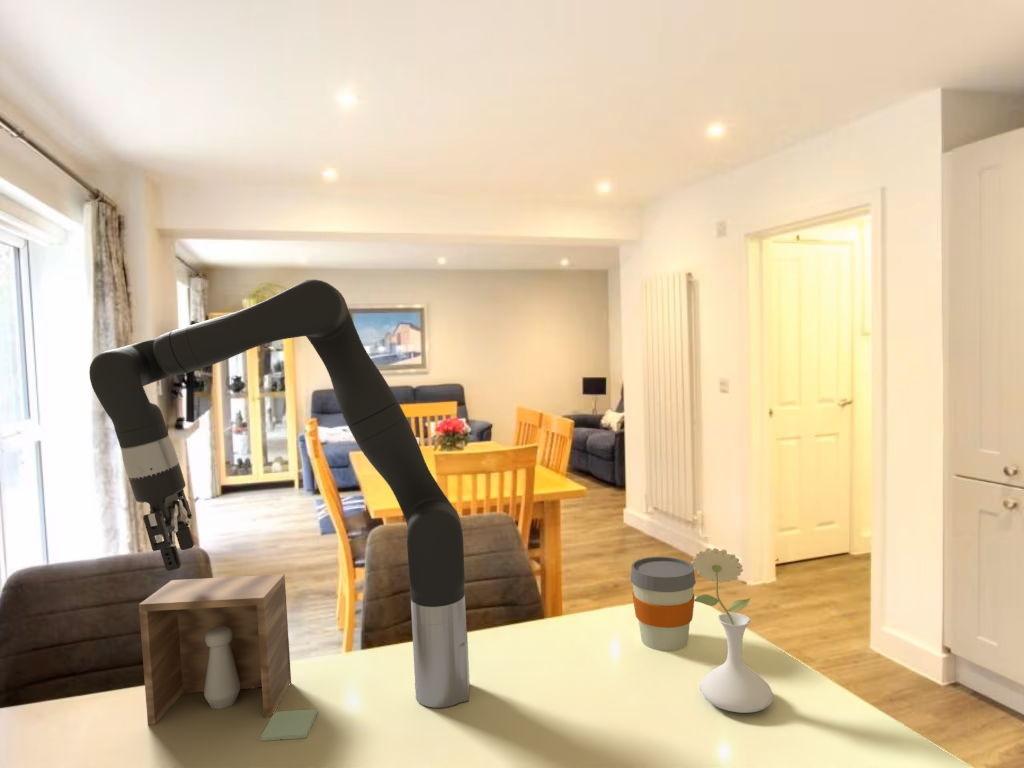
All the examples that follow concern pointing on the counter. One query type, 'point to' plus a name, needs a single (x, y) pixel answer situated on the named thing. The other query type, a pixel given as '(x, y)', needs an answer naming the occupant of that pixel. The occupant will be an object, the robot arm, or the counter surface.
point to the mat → (289, 725)
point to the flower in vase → (730, 643)
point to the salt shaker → (221, 669)
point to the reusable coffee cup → (663, 601)
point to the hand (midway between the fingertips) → (181, 558)
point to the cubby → (199, 608)
